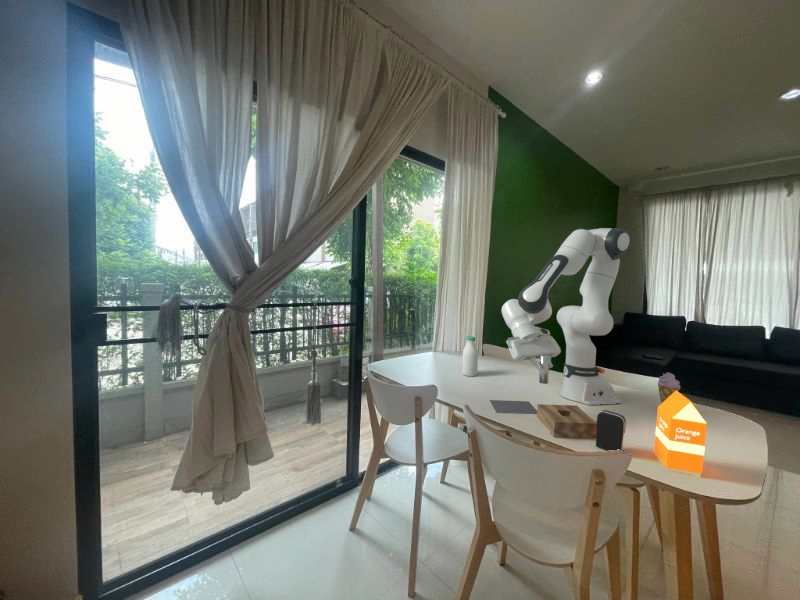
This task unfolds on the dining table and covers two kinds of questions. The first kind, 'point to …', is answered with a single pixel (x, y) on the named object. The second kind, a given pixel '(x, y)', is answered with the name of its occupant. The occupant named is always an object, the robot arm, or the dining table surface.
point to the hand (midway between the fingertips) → (545, 368)
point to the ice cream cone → (667, 386)
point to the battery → (610, 430)
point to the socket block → (567, 421)
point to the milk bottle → (470, 358)
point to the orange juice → (680, 434)
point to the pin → (544, 369)
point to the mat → (513, 407)
